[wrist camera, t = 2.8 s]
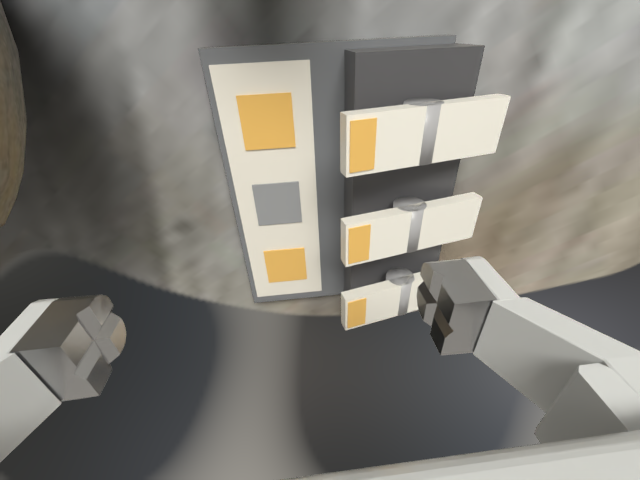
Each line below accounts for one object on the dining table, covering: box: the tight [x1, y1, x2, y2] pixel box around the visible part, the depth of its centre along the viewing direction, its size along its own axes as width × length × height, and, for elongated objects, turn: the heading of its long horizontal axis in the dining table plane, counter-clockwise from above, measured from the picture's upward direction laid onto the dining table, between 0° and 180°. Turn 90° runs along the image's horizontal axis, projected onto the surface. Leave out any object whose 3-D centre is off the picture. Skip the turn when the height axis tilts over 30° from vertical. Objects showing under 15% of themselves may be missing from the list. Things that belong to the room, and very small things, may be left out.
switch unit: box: [198, 35, 485, 311], centre depth 27 cm, size 18×24×6 cm
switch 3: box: [341, 267, 423, 330], centre depth 28 cm, size 11×4×2 cm, turn 93°
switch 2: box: [341, 192, 483, 267], centre depth 24 cm, size 11×4×2 cm, turn 93°
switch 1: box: [340, 94, 511, 178], centre depth 20 cm, size 11×4×2 cm, turn 93°
